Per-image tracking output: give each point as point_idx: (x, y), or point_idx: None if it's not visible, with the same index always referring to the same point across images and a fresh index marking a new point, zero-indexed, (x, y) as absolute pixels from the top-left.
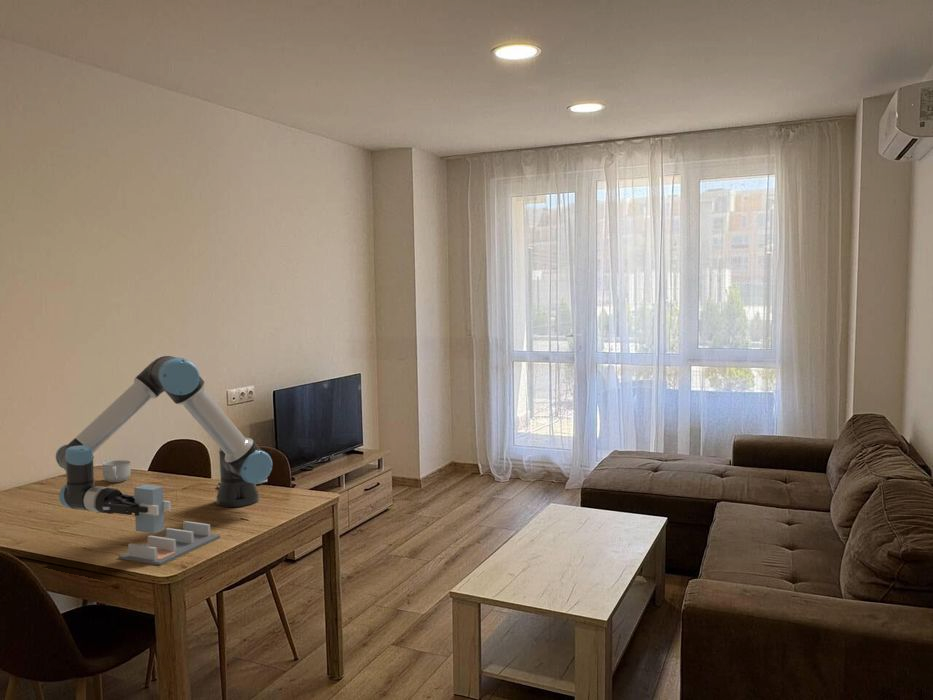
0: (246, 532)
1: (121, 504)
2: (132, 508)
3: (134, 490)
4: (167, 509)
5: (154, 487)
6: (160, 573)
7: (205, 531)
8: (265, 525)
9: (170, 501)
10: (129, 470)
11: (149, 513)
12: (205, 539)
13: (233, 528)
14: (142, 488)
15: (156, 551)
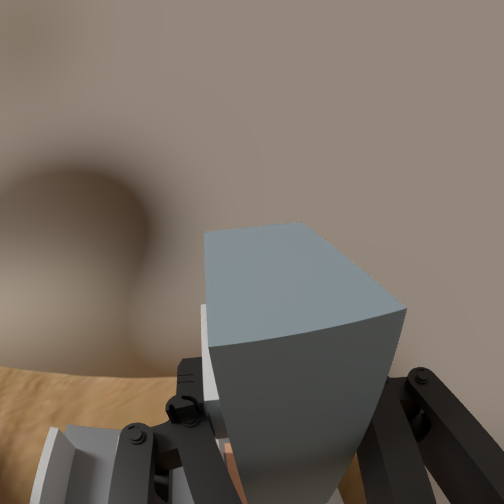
0: (37, 394)
1: (465, 443)
2: (401, 381)
3: (398, 339)
4: None
5: (252, 239)
6: None
7: (67, 448)
8: (4, 380)
9: (201, 305)
10: None
11: None
12: (102, 440)
13: (12, 428)
14: (341, 257)
15: None
